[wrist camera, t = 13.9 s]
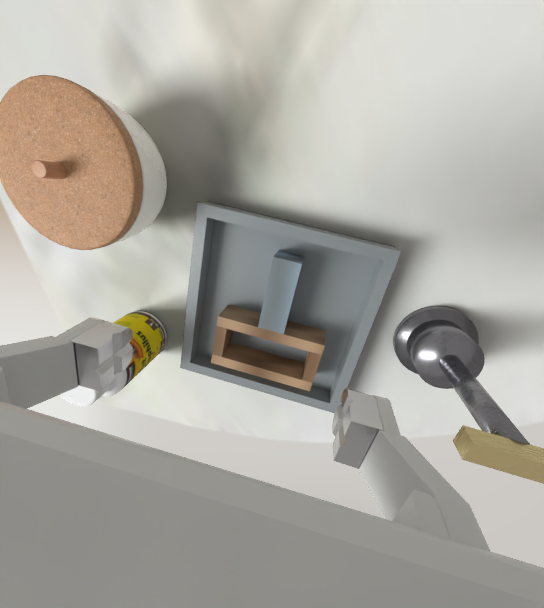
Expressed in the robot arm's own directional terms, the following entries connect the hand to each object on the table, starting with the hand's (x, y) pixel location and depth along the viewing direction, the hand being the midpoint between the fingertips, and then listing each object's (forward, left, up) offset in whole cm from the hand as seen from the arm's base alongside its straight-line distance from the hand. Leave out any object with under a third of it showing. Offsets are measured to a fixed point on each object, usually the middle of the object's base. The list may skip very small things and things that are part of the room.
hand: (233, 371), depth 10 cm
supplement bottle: (+12, -14, -18) cm, 25 cm away
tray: (+5, 0, -18) cm, 18 cm away
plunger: (+4, +15, -18) cm, 23 cm away
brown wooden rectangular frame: (+5, 0, -17) cm, 18 cm away
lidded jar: (-4, -16, -18) cm, 24 cm away
